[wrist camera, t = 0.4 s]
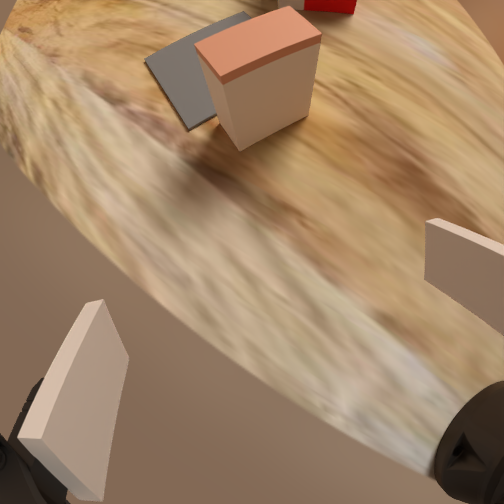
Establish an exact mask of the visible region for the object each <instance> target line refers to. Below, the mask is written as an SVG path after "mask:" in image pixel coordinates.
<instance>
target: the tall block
mask: <svg viewBox="0 0 504 504" xmlns="http://www.w3.org/2000/svg"><path fill="white" fill-rule="evenodd" d="M321 36H322V33H321V32H320V31H318V30H317V29H316V28H315V27H314V26H313V25H312V24H311V23H309V22H308V21H307V20H306V19H305V18H304V17H302V16H301V15H300V14H299V13H298V12H297V11H295V10H294V9H293V8H292V7H290V6H286V7H283V8H280V9H277V10H274V11H271V12H269V13H266V14H263V15H260V16H258V17H255V18H252V19H250V20H247V21H245V22H242V23H240V24H237V25H235V26H232V27H230V28H228V29H225V30H223V31H221V32H219V33H216V34H214V35H212V36H210V37H208V38H205V39H203V40H201V41H199V42H197V43H195V44H194V46H195V49H196V52H197V55H198V58H199V61H200V64H201V67H202V70H203V73H204V76H205V79H206V82H207V85H208V88H209V91H210V95H211V98H212V101H213V104H214V107H215V110H216V113H217V116H218V119H219V122H220V124H221V125H222V127H223V128H224V130H225V131H226V133H227V134H228V136H229V137H230V139H231V140H232V141H233V143H234V144H235V146H236V147H237V149H238V150H239V152H240V151H242V150H244V149H246V148H247V147H249V146H251V145H253V144H255V143H256V142H258V141H260V140H262V139H264V138H266V137H267V136H269V135H271V134H273V133H275V132H277V131H279V130H281V129H282V128H284V127H286V126H288V125H290V124H292V123H294V122H296V121H298V120H300V119H302V118H304V117H306V116H308V114H309V108H310V102H311V97H312V91H313V85H314V79H315V73H316V67H317V61H318V55H319V49H320V43H321Z"/></svg>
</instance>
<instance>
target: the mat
mask: <svg viewBox="0 0 504 504" xmlns="http://www.w3.org/2000/svg"><path fill="white" fill-rule="evenodd" d="M250 19H252V18H251V17H250V16H249V15H247V14H246V13H245V12H244V11H243V12H240V13H238V14H235V15H233V16H230V17H228V18H225V19H223V20H221V21H218V22H216V23H214V24H212V25H209V26H207V27H205V28H203V29H201V30H198V31H196V32H194V33H192V34H190V35H188V36H186V37H184V38H182V39H180V40H178V41H176V42H174V43H172V44H170V45H168V46H166V47H165V48H163V49H161V50H159V51H157V52H156V53H154V54H152V55H150V56H148V57H147V58H145V61H146V63H147V64H148V66H149V67H150V69H151V71H152V72H153V74H154V75H155V77H156V78H157V80H158V82H159V83H160V85H161V86H162V88H163V89H164V91H165V93H166V94H167V96H168V97H169V99H170V101H171V102H172V104H173V105H174V107H175V108H176V110H177V112H178V113H179V115H180V116H181V118H182V120H183V121H184V123H185V124H186V126H187V128H188V129H189V131H190V130H191V129H193V128H195V127H196V126H198V125H200V124H202V123H203V122H205V121H207V120H209V119H210V118H212V117H214V116H216V115H217V113H216V110H215V107H214V104H213V101H212V98H211V95H210V91H209V88H208V85H207V82H206V79H205V76H204V73H203V70H202V67H201V64H200V61H199V58H198V55H197V52H196V49H195V46H194V44H195V43H197V42H199V41H201V40H203V39H205V38H208V37H210V36H212V35H214V34H216V33H219V32H221V31H223V30H225V29H228V28H230V27H232V26H235V25H237V24H240V23H242V22H245V21H247V20H250Z"/></svg>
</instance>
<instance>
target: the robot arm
mask: <svg viewBox="0 0 504 504" xmlns="http://www.w3.org/2000/svg"><path fill="white" fill-rule="evenodd" d="M424 280H426V281H427V282H429V283H430V284H432V285H433V286H435V287H436V288H438V289H439V290H441V291H442V292H444V293H445V294H447V295H448V296H449V297H451V298H452V299H454V300H455V301H457V302H458V303H459V304H461V305H462V306H464V307H465V308H467V309H468V310H469V311H471V312H472V313H474V314H475V315H476V316H478V317H479V318H481V319H482V320H483V321H485V322H486V323H487V324H489V325H490V326H491V327H493V328H494V329H495V330H497V331H498V332H499V333H501V334H502V335H503V336H504V245H502V244H500V243H498V242H496V241H493V240H491V239H489V238H486V237H484V236H482V235H479V234H477V233H475V232H472V231H470V230H467V229H465V228H462V227H460V226H457V225H455V224H452V223H450V222H447V221H445V220H442V219H439V218H436V219H432V220H428V221H425V275H424ZM128 362H129V357H128V354H127V352H126V350H125V348H124V346H123V344H122V342H121V339H120V337H119V335H118V333H117V330H116V328H115V326H114V324H113V321H112V319H111V317H110V314H109V312H108V309H107V307H106V304H105V302H104V300H98V301H93V302H89V303H86V304H85V306H84V308H83V309H82V311H81V313H80V314H79V316H78V318H77V319H76V321H75V323H74V325H73V326H72V328H71V330H70V331H69V333H68V335H67V337H66V339H65V340H64V342H63V344H62V346H61V348H60V349H59V351H58V353H57V355H56V357H55V359H54V361H53V363H52V364H51V366H50V368H49V370H48V372H47V374H46V376H45V378H41V380H40V381H39V382H38V383H37V384H36V385H35V386H34V387H33V388H32V390H31V392H30V394H29V396H28V398H27V400H26V401H27V402H26V403H25V404H24V406H23V408H22V412H20V414H19V416H18V419H17V421H16V423H15V425H14V427H13V430H12V432H11V434H10V437H9V439H8V441H6V440H5V438H4V437H3V436H2V435H1V434H0V504H70V503H69V502H68V501H67V500H66V495H67V490H69V491H70V492H71V493H72V494H73V495H74V496H75V497H77V498H78V499H79V500H86V501H103V497H104V489H105V482H106V475H107V468H108V462H109V455H110V449H111V444H112V438H113V432H114V427H115V422H116V416H117V412H118V407H119V402H120V397H121V392H122V388H123V383H124V379H125V375H126V370H127V366H128ZM434 470H435V477H436V480H437V482H438V484H439V485H440V486H441V488H442V489H443V490H444V491H445V492H446V493H447V494H448V495H449V496H451V497H452V498H454V499H457V500H460V501H462V502H465V503H469V504H504V381H500V382H497V383H494V384H492V385H490V386H488V387H487V388H485V389H483V390H482V391H480V392H479V393H478V394H477V395H475V396H474V397H473V398H472V399H471V400H470V401H469V402H468V403H467V404H466V405H465V406H464V407H463V408H462V409H461V411H460V412H459V413H458V414H457V416H456V417H455V418H454V420H453V421H452V423H451V424H450V426H449V427H448V429H447V431H446V433H445V435H444V437H443V439H442V441H441V443H440V446H439V448H438V451H437V455H436V459H435V468H434Z"/></svg>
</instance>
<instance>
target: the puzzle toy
mask: <svg viewBox="0 0 504 504" xmlns="http://www.w3.org/2000/svg"><path fill="white" fill-rule="evenodd" d="M277 2H278V9H280V8H283V7H286V6H290V7H292V8H293V9H294V10H311V11H326V12H338V13H348V14H354V10H355V6H356V2H357V0H277Z"/></svg>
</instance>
